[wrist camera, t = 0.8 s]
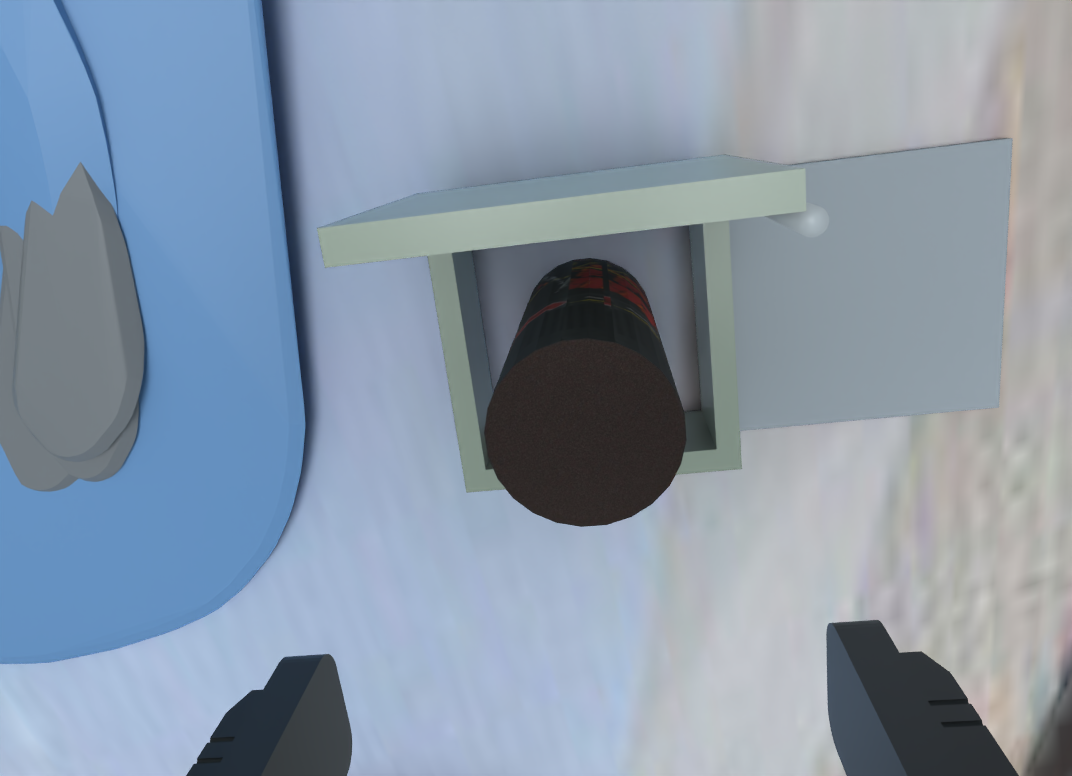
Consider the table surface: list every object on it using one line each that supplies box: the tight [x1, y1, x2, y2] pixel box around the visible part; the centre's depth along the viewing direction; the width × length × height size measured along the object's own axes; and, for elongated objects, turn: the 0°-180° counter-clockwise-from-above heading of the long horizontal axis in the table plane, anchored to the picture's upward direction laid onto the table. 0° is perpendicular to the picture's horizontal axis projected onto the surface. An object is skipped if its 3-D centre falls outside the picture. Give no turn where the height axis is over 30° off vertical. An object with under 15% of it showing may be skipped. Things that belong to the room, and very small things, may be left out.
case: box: [317, 155, 829, 492], centre depth 29 cm, size 13×13×17 cm
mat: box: [729, 138, 1012, 431], centre depth 36 cm, size 12×12×1 cm
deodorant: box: [484, 258, 687, 527], centre depth 31 cm, size 6×6×15 cm
